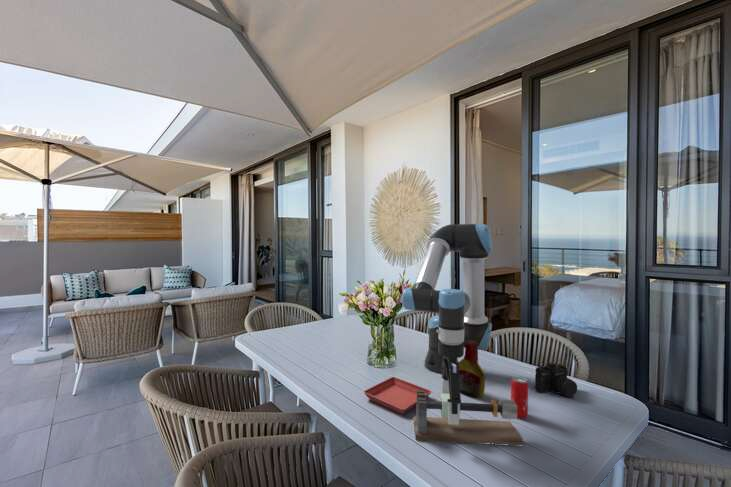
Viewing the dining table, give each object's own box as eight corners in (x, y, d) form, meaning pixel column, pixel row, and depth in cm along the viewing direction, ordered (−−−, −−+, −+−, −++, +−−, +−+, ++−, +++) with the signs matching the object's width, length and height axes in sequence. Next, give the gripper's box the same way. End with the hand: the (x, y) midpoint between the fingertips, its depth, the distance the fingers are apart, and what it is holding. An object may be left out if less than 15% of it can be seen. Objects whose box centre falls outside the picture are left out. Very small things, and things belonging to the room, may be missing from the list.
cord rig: (413, 420, 108) (414, 388, 108) (510, 426, 105) (511, 393, 105) (415, 439, 98) (415, 404, 98) (522, 446, 95) (523, 409, 95)
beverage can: (512, 409, 115) (513, 375, 115) (529, 414, 112) (530, 379, 112) (508, 415, 111) (509, 380, 111) (525, 421, 108) (525, 384, 108)
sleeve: (440, 409, 105) (440, 393, 104) (456, 410, 104) (456, 394, 104) (442, 418, 100) (442, 401, 99) (459, 419, 99) (460, 402, 99)
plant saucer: (432, 399, 123) (432, 390, 123) (403, 419, 110) (403, 409, 109) (392, 384, 135) (392, 376, 135) (362, 400, 122) (362, 391, 122)
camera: (553, 401, 121) (554, 374, 121) (531, 388, 132) (531, 363, 131) (583, 397, 125) (584, 370, 125) (559, 384, 136) (560, 360, 135)
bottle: (488, 397, 124) (489, 343, 124) (478, 402, 120) (479, 346, 120) (461, 385, 134) (462, 335, 133) (451, 390, 130) (452, 338, 129)
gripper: (433, 329, 114) (432, 391, 114) (444, 355, 89) (442, 434, 90) (456, 330, 113) (455, 392, 114) (473, 356, 89) (471, 436, 89)
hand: (449, 411), depth 102 cm, fingers open, 13 cm apart
